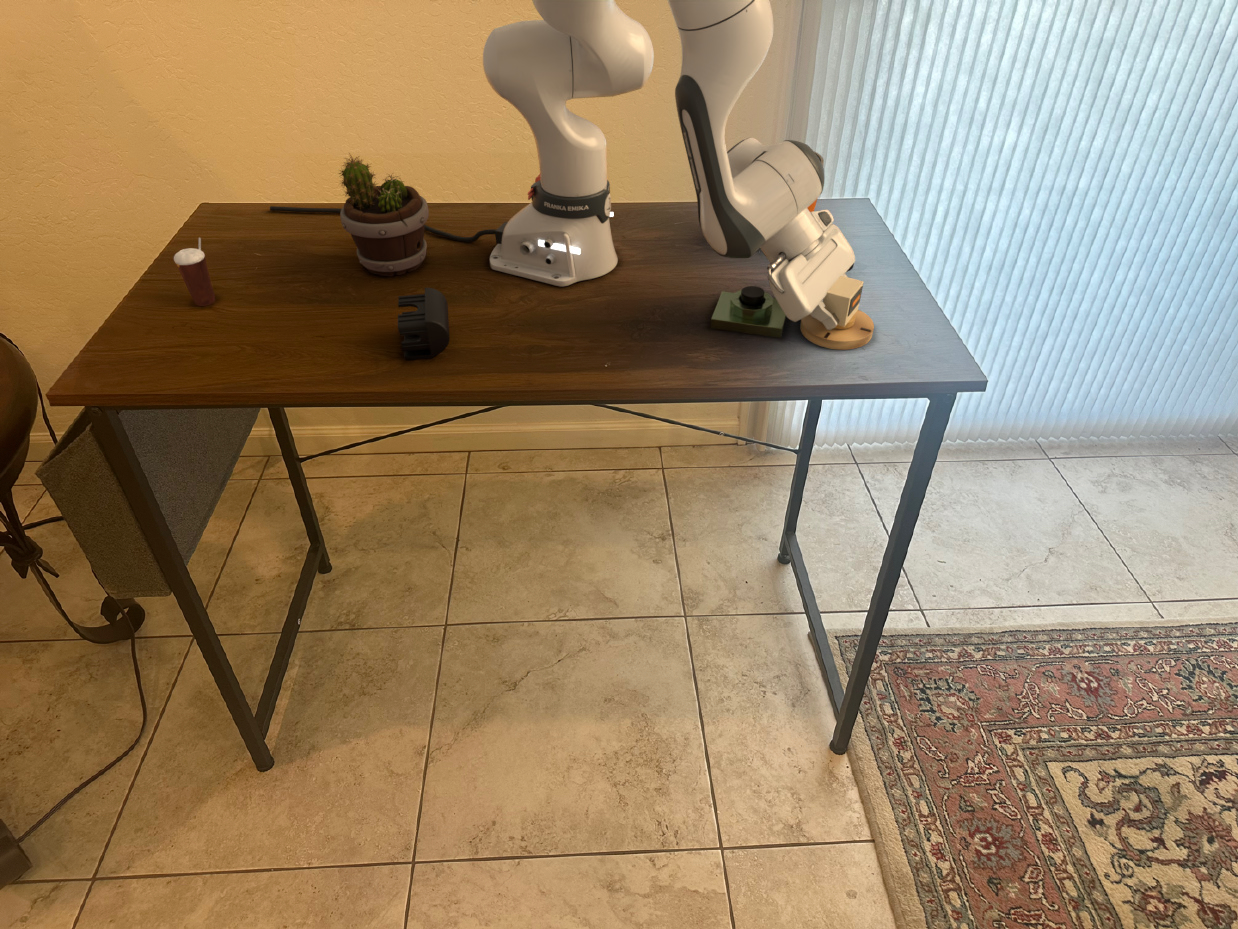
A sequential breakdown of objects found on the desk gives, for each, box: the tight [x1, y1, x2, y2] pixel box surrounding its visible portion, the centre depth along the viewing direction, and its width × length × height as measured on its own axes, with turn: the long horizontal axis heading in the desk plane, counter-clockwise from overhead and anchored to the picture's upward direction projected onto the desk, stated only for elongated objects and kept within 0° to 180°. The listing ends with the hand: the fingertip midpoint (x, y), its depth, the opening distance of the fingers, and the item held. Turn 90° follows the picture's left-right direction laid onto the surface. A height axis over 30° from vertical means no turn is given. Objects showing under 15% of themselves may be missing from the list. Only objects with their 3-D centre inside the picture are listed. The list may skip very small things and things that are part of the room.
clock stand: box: [799, 309, 875, 351], centre depth 133 cm, size 11×11×2 cm
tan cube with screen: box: [822, 276, 864, 329], centre depth 131 cm, size 5×6×6 cm
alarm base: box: [710, 289, 787, 339], centre depth 136 cm, size 11×9×4 cm
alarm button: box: [740, 285, 766, 306], centre depth 134 cm, size 4×4×2 cm
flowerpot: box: [337, 152, 430, 277], centre depth 145 cm, size 14×15×20 cm
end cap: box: [397, 287, 450, 361], centre depth 130 cm, size 10×7×7 cm
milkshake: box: [173, 237, 216, 307], centre depth 139 cm, size 5×5×10 cm
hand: (843, 315), depth 132 cm, fingers closed on tan cube with screen, 6 cm apart
